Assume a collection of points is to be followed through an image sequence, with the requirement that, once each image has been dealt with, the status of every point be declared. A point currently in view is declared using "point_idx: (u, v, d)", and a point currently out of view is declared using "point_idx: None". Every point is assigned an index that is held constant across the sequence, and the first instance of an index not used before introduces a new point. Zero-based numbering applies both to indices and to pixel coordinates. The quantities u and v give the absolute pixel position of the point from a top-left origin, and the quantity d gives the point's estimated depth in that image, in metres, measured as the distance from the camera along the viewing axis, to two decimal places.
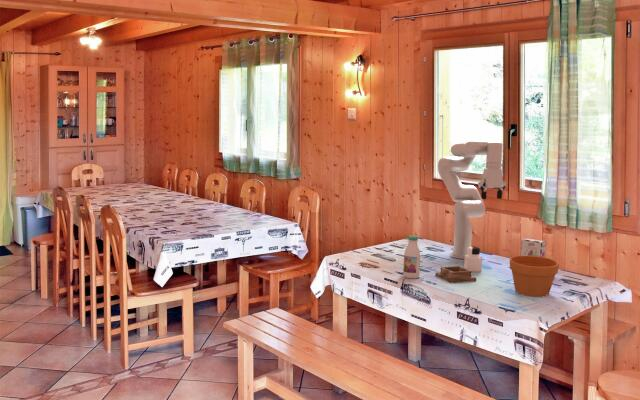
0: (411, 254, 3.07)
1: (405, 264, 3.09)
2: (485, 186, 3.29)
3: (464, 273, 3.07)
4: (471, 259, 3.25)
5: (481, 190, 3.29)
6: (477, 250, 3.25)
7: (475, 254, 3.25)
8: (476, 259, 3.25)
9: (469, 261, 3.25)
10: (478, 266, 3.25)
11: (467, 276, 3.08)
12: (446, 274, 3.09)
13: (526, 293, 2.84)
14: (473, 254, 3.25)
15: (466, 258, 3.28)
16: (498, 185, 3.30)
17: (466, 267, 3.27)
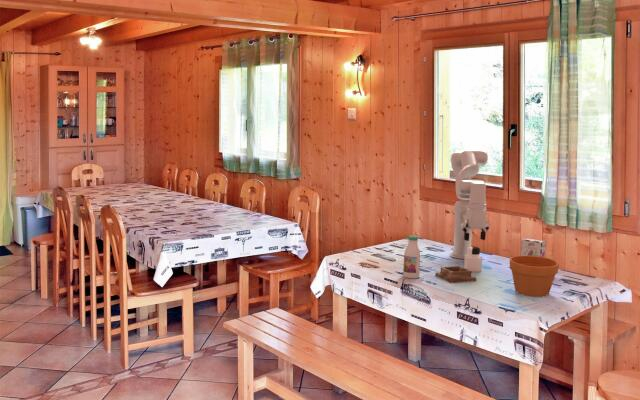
0: (411, 254, 3.07)
1: (405, 264, 3.09)
2: (468, 227, 3.23)
3: (464, 273, 3.07)
4: (471, 259, 3.25)
5: (464, 231, 3.24)
6: (477, 250, 3.25)
7: (475, 254, 3.25)
8: (476, 259, 3.25)
9: (469, 261, 3.25)
10: (478, 266, 3.25)
11: (467, 276, 3.08)
12: (446, 274, 3.09)
13: (526, 293, 2.84)
14: (473, 254, 3.25)
15: (466, 258, 3.28)
16: (481, 226, 3.25)
17: (466, 267, 3.27)
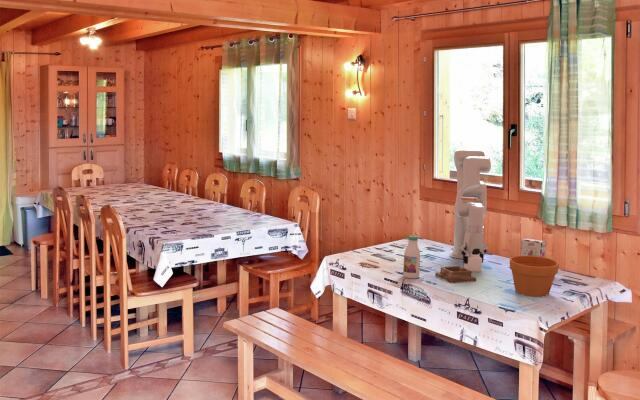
0: (411, 254, 3.07)
1: (405, 264, 3.09)
2: (466, 250, 3.25)
3: (464, 273, 3.07)
4: (471, 259, 3.25)
5: (463, 254, 3.26)
6: (477, 250, 3.25)
7: (475, 254, 3.25)
8: (476, 259, 3.25)
9: (469, 261, 3.25)
10: (478, 266, 3.25)
11: (467, 276, 3.08)
12: (446, 274, 3.09)
13: (526, 293, 2.84)
14: (473, 254, 3.25)
15: None
16: (480, 249, 3.26)
17: (466, 267, 3.27)
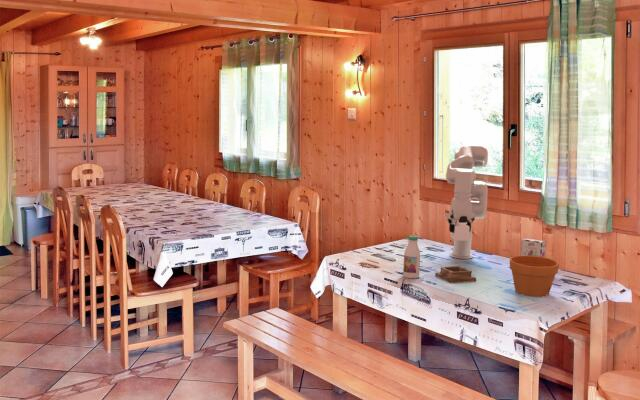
0: (411, 254, 3.07)
1: (405, 264, 3.09)
2: (453, 218, 3.07)
3: (464, 273, 3.07)
4: (458, 227, 3.06)
5: (449, 223, 3.07)
6: (464, 218, 3.06)
7: (462, 222, 3.06)
8: (463, 227, 3.06)
9: (456, 229, 3.06)
10: (465, 235, 3.07)
11: (467, 276, 3.08)
12: (446, 274, 3.09)
13: (526, 293, 2.84)
14: (460, 222, 3.06)
15: None
16: (467, 217, 3.08)
17: (453, 236, 3.09)
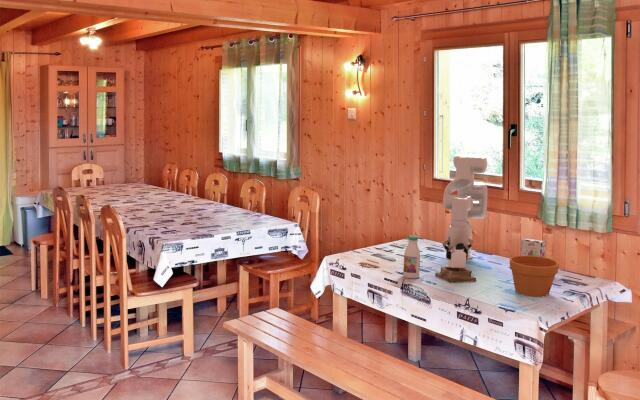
0: (411, 254, 3.07)
1: (405, 264, 3.09)
2: (450, 245, 3.07)
3: (464, 273, 3.07)
4: (455, 254, 3.06)
5: (446, 249, 3.08)
6: (461, 245, 3.07)
7: (459, 249, 3.07)
8: (460, 254, 3.07)
9: (453, 257, 3.07)
10: (462, 262, 3.07)
11: (467, 276, 3.08)
12: (446, 274, 3.09)
13: (526, 293, 2.84)
14: (457, 249, 3.07)
15: None
16: (464, 244, 3.08)
17: (449, 263, 3.09)
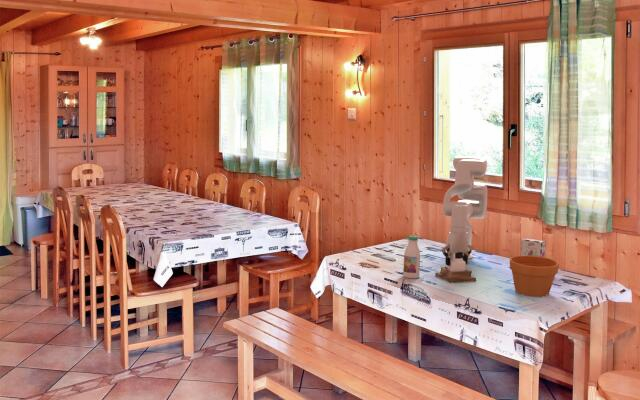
0: (411, 254, 3.07)
1: (405, 264, 3.09)
2: (449, 252, 3.08)
3: (464, 273, 3.07)
4: (454, 263, 3.07)
5: (445, 256, 3.08)
6: (460, 254, 3.08)
7: (458, 258, 3.07)
8: (460, 263, 3.07)
9: (452, 266, 3.07)
10: None
11: (467, 276, 3.08)
12: (446, 274, 3.09)
13: (526, 293, 2.84)
14: (456, 258, 3.07)
15: None
16: (463, 250, 3.09)
17: None
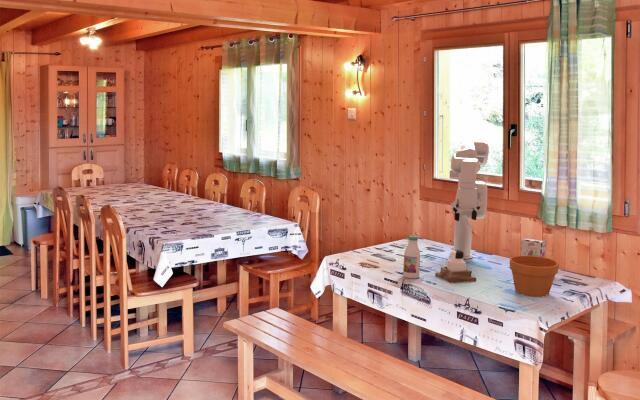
0: (411, 254, 3.07)
1: (405, 264, 3.09)
2: (458, 207, 3.12)
3: (464, 273, 3.07)
4: (455, 264, 3.07)
5: (454, 211, 3.13)
6: (461, 254, 3.08)
7: (459, 258, 3.07)
8: (460, 263, 3.07)
9: (453, 266, 3.07)
10: None
11: (467, 276, 3.08)
12: (446, 274, 3.09)
13: (526, 293, 2.84)
14: (457, 258, 3.07)
15: (449, 263, 3.10)
16: (472, 206, 3.13)
17: None
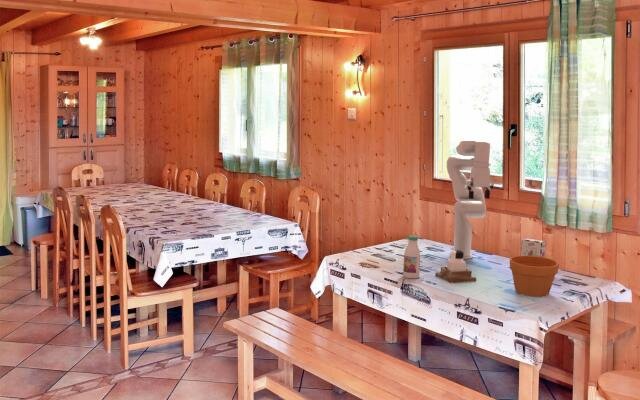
0: (411, 254, 3.07)
1: (405, 264, 3.09)
2: (472, 186, 3.26)
3: (464, 273, 3.07)
4: (455, 264, 3.07)
5: (468, 190, 3.27)
6: (461, 254, 3.08)
7: (459, 258, 3.07)
8: (460, 263, 3.07)
9: (453, 266, 3.07)
10: None
11: (467, 276, 3.08)
12: (446, 274, 3.09)
13: (526, 293, 2.84)
14: (457, 258, 3.07)
15: (449, 263, 3.10)
16: (486, 185, 3.27)
17: None
